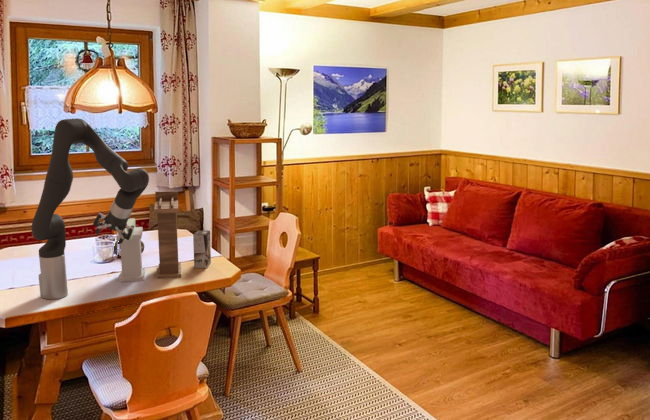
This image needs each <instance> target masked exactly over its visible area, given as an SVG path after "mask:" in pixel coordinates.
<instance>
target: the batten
mask: <svg viewBox="0 0 650 420" xmlns="http://www.w3.org/2000/svg"><path fill="white" fill-rule="evenodd" d="M127 225H128V226H132V225H133V226H134V229H133V232H132V235H131V237H130V239H129V240H126V239H124V240H123V241H132V237H133V233H134V230H135V227H137V226H136V218H133V217H132V218H129V219H128V221H127ZM125 232H126V234H128V232H127V229H126V228H125Z"/></svg>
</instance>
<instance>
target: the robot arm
mask: <svg viewBox="0 0 650 420" xmlns="http://www.w3.org/2000/svg"><path fill="white" fill-rule="evenodd" d="M78 144H84V145H85V146H87V147H88V148H90V149H91V150H92V152H93V154H94V157H95V160H96V161H97V163H98V165H99V166H100V167H102V168H103V169H104V170H105V171H106V172H108V173H109V174H111V176H112V178H113V179H114V181H115V182H116V183H117V185H118V187H119V188H120V189H119V190H118V191H117V194H116V196H115V198H114V200H113V201H112V204H111V205H110V207H109V210H108V213H107V214H106V215H105V214H103V211H99V212H98V214H97V216H96V217H95V219H94V221H93V223H92V225H93V226H96V229H95V234H96V235H97V236H99V234H100V232H102V228H103V229H105V228H108V229H110V230H113V231H115V232H118V234H119V235H120V237H121V238H120V240H119V242H118V244H120V243H121V244H122V242H123V240H124V239H126V240H129V239H130V237H131V235H132V232H133V229H134V226H133V225H132V226H128V225H127V221H128V219H130V217H131V215H132V212H133V210H134V207H135V204H136V201H137V199H138V198H139V197H140V196H141V195H142V194H143V192H144V191H145V190H146V189H147V187H148V185H149V182H150V175H149V173H148V172H147V170H146V169H144V168H139V167H138V168H135V169H132V170H130V171H127V170H128V168H129V163H128V161H127V160H125V159H124V158H123V157H122V156H120V155H119V154H118V153H117V152H116V151H114V150H113V149H112V148H111V147H110V146H109V145H107V143H106V142H105V141H104V140H103V139H102V138H101V136H100V135H99V134H98V133H97V132H96V130H94V128H93V127H92V126H91V125H90V124H89V123H88V122H87V121H86V120H84V119H82V118H67V119H66V118H65V119H61V120H59V121H58V122H57V123H56V125H55V128H54V132H53V139H52V147H51V154H50V160H49V163H48V167H47V172H46V175H45V179H44V184H43V189H42V193H41V196H40V199H39V203H38V205H37V207H36V211H35V214H34V217H33V219H32V222H31V234H32V236H33V238H34V239H35V240H37V241H41V242H42V241H46V242H45V244H44V245H42V246H41V247H39V249H38V259H39V269H40V270H39V271H40V273H39V274H38V284H39V285H38V286H39V294H40V296H39V297H40V298H41V299H42V298H43V299H45V300H59V299H63V298H65V297H67V296H68V295H69V293H68V292H69V291H68V290H69V289H68V280H67V279H68V278H67V267H66V255H65V254H66V253H65V249H66V246H67V243H66V225H65V221H64V219H63V217H62V216H61V215H59V214H57V213H55V212H56V210H57V209H58V208H59V206H60V205H61V204H62V202H63V201H64V200H65V199H66V198H67V196H68V195H69V193H70V191H71V187H72V184H73V180H74V171H73V168H72V166H71V164H70V161H69V155H70V151H71V147H72V146H73V145H78ZM103 219H104V220H103ZM100 220H103V221H100ZM125 228H126V229H127V232H128V234H126V232H125Z"/></svg>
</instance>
